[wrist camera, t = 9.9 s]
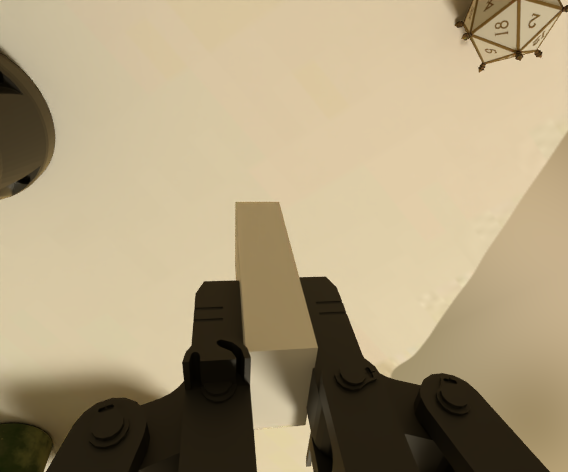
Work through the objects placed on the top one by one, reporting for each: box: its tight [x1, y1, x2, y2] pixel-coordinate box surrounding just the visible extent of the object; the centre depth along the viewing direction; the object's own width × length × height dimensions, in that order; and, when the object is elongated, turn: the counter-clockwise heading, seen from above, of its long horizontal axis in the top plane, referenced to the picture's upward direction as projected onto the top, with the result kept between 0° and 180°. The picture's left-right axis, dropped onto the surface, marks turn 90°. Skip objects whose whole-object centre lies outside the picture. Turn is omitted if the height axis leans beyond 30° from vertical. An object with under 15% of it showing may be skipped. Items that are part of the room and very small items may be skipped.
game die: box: [455, 0, 568, 72], centre depth 35 cm, size 9×8×10 cm
